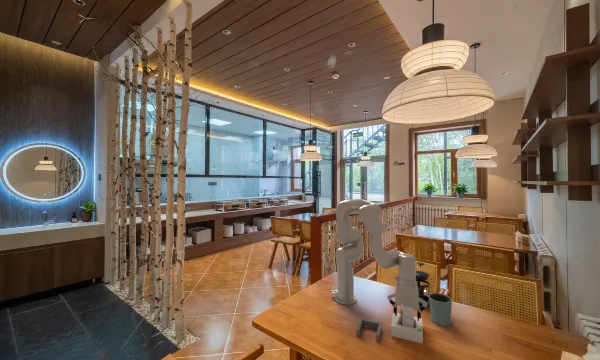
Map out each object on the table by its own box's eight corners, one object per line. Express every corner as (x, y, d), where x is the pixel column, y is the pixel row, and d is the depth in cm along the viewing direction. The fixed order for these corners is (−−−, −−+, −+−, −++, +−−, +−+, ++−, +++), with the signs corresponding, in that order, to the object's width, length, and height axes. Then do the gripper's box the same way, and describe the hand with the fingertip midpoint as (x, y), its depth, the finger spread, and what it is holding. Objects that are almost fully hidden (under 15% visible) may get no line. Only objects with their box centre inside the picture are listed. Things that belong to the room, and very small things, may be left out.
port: (391, 335, 113) (391, 324, 113) (393, 320, 125) (393, 310, 125) (422, 343, 108) (422, 332, 108) (421, 327, 120) (421, 316, 120)
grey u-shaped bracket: (356, 335, 114) (356, 329, 113) (360, 324, 123) (360, 318, 123) (379, 341, 109) (379, 335, 109) (381, 329, 118) (381, 322, 118)
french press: (428, 299, 146) (428, 261, 146) (433, 308, 137) (433, 266, 137) (407, 297, 149) (407, 259, 149) (410, 305, 140) (410, 264, 140)
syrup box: (400, 326, 120) (400, 297, 120) (413, 329, 118) (413, 299, 118) (400, 333, 115) (400, 302, 115) (414, 336, 113) (414, 305, 113)
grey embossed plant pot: (455, 328, 119) (455, 303, 119) (432, 325, 121) (432, 301, 121) (447, 316, 129) (447, 293, 129) (426, 314, 131) (426, 291, 131)
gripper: (386, 280, 116) (386, 317, 117) (428, 287, 109) (428, 326, 109) (388, 275, 123) (388, 309, 123) (427, 281, 116) (427, 317, 116)
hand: (406, 317), depth 116 cm, fingers open, 9 cm apart
